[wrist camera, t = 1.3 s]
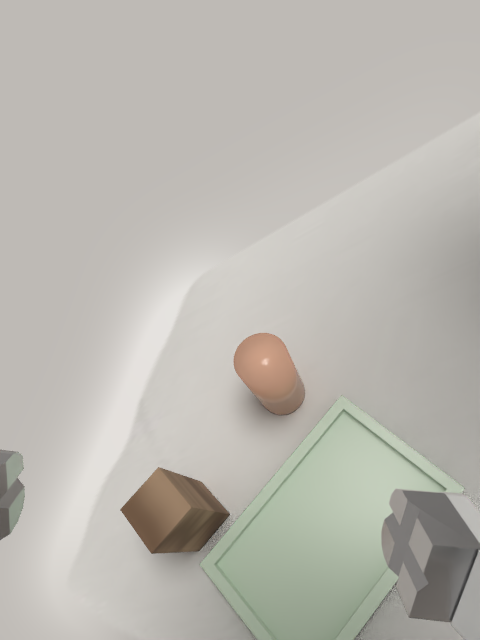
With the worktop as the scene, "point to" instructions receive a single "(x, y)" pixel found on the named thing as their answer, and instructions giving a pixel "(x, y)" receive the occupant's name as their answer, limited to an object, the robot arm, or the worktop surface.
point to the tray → (321, 531)
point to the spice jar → (269, 373)
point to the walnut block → (174, 513)
